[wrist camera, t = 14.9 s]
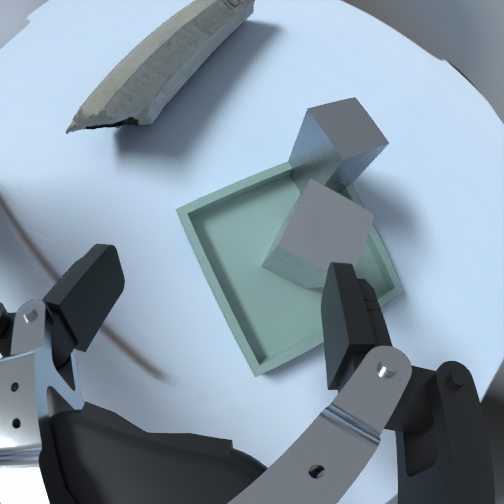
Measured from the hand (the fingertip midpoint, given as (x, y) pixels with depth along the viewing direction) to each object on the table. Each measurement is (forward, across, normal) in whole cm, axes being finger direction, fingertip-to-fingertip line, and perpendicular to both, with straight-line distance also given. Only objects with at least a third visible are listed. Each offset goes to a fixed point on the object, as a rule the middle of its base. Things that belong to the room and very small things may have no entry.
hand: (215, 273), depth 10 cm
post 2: (+13, +4, -8) cm, 16 cm away
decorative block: (+28, -11, +10) cm, 32 cm away
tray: (+14, +4, -8) cm, 17 cm away
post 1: (+19, +6, -2) cm, 20 cm away
